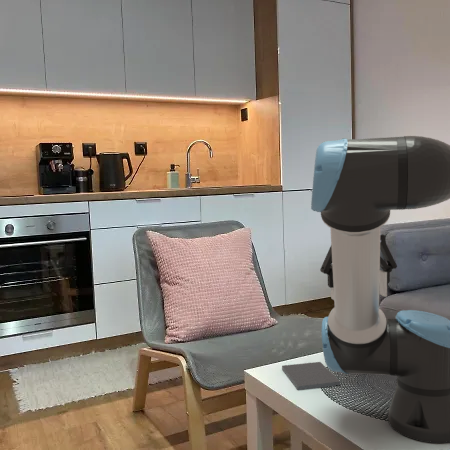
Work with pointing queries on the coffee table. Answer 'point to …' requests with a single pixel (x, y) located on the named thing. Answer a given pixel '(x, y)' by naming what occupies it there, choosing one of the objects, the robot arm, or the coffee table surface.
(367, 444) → the coffee table surface
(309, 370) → the plate
